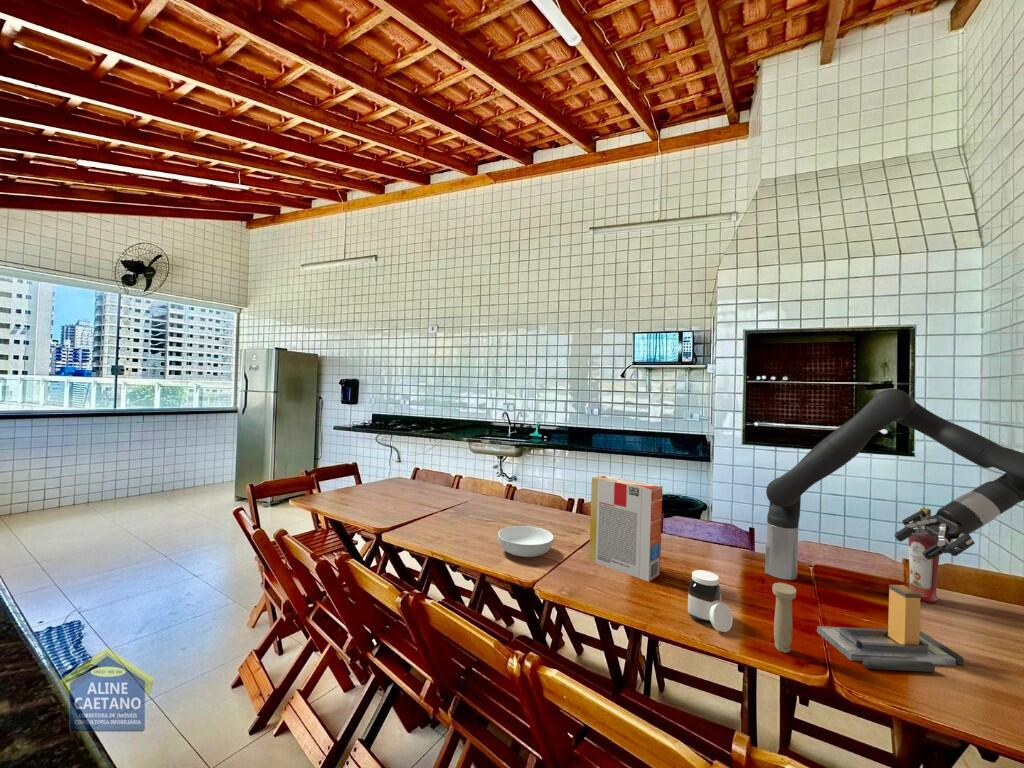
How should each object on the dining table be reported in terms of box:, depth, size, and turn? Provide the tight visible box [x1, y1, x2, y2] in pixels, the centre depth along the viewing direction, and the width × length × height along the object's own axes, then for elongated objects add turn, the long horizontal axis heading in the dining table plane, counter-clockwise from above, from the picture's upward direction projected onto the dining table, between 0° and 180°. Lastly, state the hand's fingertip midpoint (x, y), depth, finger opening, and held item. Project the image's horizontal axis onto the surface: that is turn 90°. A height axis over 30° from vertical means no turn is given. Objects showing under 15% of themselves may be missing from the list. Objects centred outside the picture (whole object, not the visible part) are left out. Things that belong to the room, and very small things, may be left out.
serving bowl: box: [497, 525, 555, 558], centre depth 164 cm, size 21×21×7 cm
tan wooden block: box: [887, 584, 921, 645], centre depth 109 cm, size 4×5×13 cm
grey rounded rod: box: [862, 659, 936, 673], centre depth 100 cm, size 15×2×2 cm, turn 88°
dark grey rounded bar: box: [919, 630, 965, 665], centre depth 108 cm, size 11×2×2 cm, turn 178°
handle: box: [771, 582, 797, 654], centre depth 107 cm, size 5×6×15 cm
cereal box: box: [588, 474, 663, 583], centre depth 153 cm, size 23×8×30 cm, turn 46°
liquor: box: [907, 507, 940, 603], centre depth 136 cm, size 7×7×28 cm
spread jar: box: [687, 569, 733, 633], centre depth 119 cm, size 12×11×12 cm
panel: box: [816, 625, 957, 667], centre depth 109 cm, size 24×12×3 cm, turn 88°
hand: (910, 547), depth 115 cm, fingers open, 8 cm apart
